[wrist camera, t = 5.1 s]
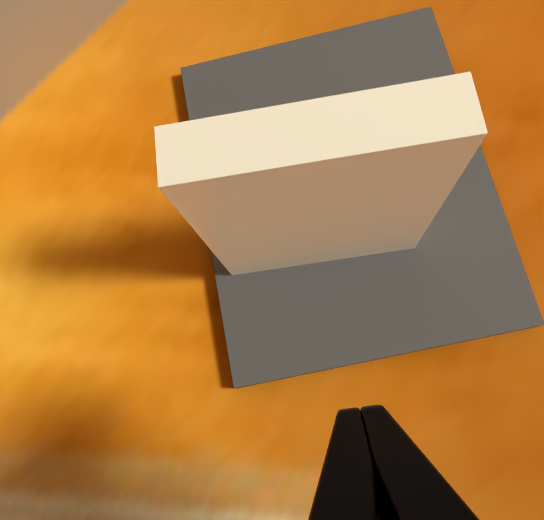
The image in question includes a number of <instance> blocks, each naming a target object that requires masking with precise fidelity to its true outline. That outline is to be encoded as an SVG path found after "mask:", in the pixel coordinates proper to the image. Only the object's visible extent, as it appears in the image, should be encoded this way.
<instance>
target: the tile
mask: <svg viewBox="0 0 544 520" xmlns="http://www.w3.org/2000/svg"><path fill="white" fill-rule="evenodd" d="M154 130H155V145H156V161H157V177H158V188H159V189H160V190H161V191H162V192H163V194H164V195H165V196H166V197H167V198H168V200H169V201H170V202H171V203H172V204H173V206H174V207H175V208H176V209H177V210H178V211H179V213H180V214H181V215H182V216H183V217H184V219H185V220H186V221H187V222H188V223H189V225H190V226H191V227H192V228H193V229H194V231H195V232H196V233H197V234H198V235H199V237H200V238H201V239H202V240H203V241H204V242H205V244H206V245H207V246H208V247H209V248H210V250H211V251H212V252H213V253H214V254H215V256H216V257H217V258H218V259H219V260H220V262H221V263H222V264H223V265H224V266H225V268H226V269H227V270H228V271H229V272H230V273H231V275H238V274H245V273H251V272H258V271H265V270H272V269H278V268H285V267H292V266H298V265H305V264H312V263H319V262H325V261H332V260H339V259H346V258H352V257H359V256H366V255H373V254H379V253H386V252H393V251H399V250H406V249H413V248H415V247H416V245H417V244H418V242H419V241H420V239H421V238H422V236H423V234H424V233H425V231H426V230H427V228H428V227H429V225H430V223H431V222H432V220H433V219H434V217H435V215H436V214H437V212H438V211H439V209H440V208H441V206H442V204H443V203H444V201H445V200H446V198H447V197H448V195H449V193H450V192H451V190H452V189H453V187H454V186H455V184H456V182H457V181H458V179H459V178H460V176H461V174H462V173H463V171H464V170H465V168H466V167H467V165H468V163H469V162H470V160H471V159H472V157H473V156H474V154H475V152H476V151H477V149H478V148H479V146H480V145H481V143H482V141H483V140H484V138H485V137H486V135H487V133H488V132H487V129H486V125H485V122H484V118H483V114H482V111H481V107H480V104H479V100H478V97H477V93H476V89H475V86H474V82H473V79H472V75H471V72H466V73H460V74H454V75H448V76H443V77H437V78H431V79H425V80H420V81H414V82H408V83H402V84H397V85H391V86H385V87H379V88H374V89H368V90H362V91H356V92H351V93H345V94H339V95H333V96H328V97H322V98H316V99H310V100H305V101H299V102H293V103H288V104H282V105H276V106H270V107H265V108H259V109H253V110H247V111H242V112H236V113H230V114H224V115H219V116H213V117H207V118H201V119H196V120H190V121H184V122H178V123H173V124H167V125H161V126H155V127H154Z"/></svg>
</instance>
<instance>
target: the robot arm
mask: <svg viewBox="0 0 544 520" xmlns="http://www.w3.org/2000/svg"><path fill="white" fill-rule="evenodd" d="M308 520H479V519H478V518H477V516H476V515H475V514H474V513H473V512H472V510H471V509H470V508H469V507H468V506H467V505H466V503H465V502H464V501H463V500H462V499H461V497H460V496H459V495H458V494H457V493H456V492H455V490H454V489H453V488H452V487H451V486H450V485H449V483H448V482H447V481H446V480H445V479H444V477H443V476H442V475H441V474H440V473H439V472H438V470H437V469H436V468H435V467H434V466H433V464H432V463H431V462H430V461H429V460H428V459H427V457H426V456H425V455H424V454H423V453H422V451H421V450H420V449H419V448H418V447H417V446H416V444H415V443H414V442H413V441H412V440H411V438H410V437H409V436H408V435H407V434H406V433H405V431H404V430H403V429H402V428H401V427H400V425H399V424H398V423H397V422H396V421H395V420H394V418H393V417H392V416H391V415H390V414H389V412H388V411H387V410H386V409H385V408H384V407H383V406H381V405H372V406H364V407H362V408H361V410H360V409H359V408H348V409H341V410H339V411H338V413H337V416H336V419H335V423H334V427H333V430H332V434H331V438H330V441H329V445H328V449H327V453H326V456H325V460H324V464H323V467H322V471H321V475H320V478H319V482H318V486H317V489H316V493H315V497H314V500H313V504H312V508H311V512H310V515H309V519H308Z"/></svg>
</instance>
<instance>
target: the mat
mask: <svg viewBox="0 0 544 520" xmlns="http://www.w3.org/2000/svg"><path fill="white" fill-rule="evenodd" d="M181 74H182V80H183V86H184V92H185V98H186V104H187V110H188V116H189V121H190V120H196V119H201V118H207V117H213V116H219V115H224V114H230V113H236V112H242V111H247V110H253V109H259V108H265V107H270V106H276V105H282V104H288V103H293V102H299V101H305V100H310V99H316V98H322V97H328V96H333V95H339V94H345V93H351V92H356V91H362V90H368V89H374V88H379V87H385V86H391V85H397V84H402V83H408V82H414V81H420V80H425V79H431V78H437V77H443V76H448V75H454V74H455V73H454V70H453V67H452V64H451V62H450V59H449V56H448V53H447V50H446V48H445V45H444V42H443V39H442V36H441V34H440V31H439V28H438V25H437V22H436V20H435V17H434V14H433V11H432V8H431V7H428V8H423V9H419V10H415V11H411V12H407V13H403V14H399V15H395V16H391V17H387V18H383V19H378V20H374V21H370V22H366V23H362V24H358V25H354V26H350V27H346V28H342V29H338V30H334V31H329V32H325V33H321V34H317V35H313V36H309V37H305V38H301V39H297V40H293V41H289V42H284V43H280V44H276V45H272V46H268V47H264V48H260V49H256V50H252V51H248V52H244V53H239V54H235V55H231V56H227V57H223V58H219V59H215V60H211V61H207V62H203V63H199V64H194V65H190V66H186V67H182V68H181ZM211 254H212V260H213V266H214V272H215V278H216V284H217V290H218V296H219V302H220V308H221V314H222V320H223V326H224V332H225V338H226V344H227V350H228V356H229V362H230V368H231V374H232V380H233V386H234V388H241V387H246V386H250V385H255V384H260V383H265V382H270V381H275V380H280V379H284V378H289V377H294V376H299V375H304V374H309V373H314V372H319V371H323V370H328V369H333V368H338V367H343V366H348V365H353V364H357V363H362V362H367V361H372V360H377V359H382V358H387V357H392V356H396V355H401V354H406V353H411V352H416V351H421V350H426V349H430V348H435V347H440V346H445V345H450V344H455V343H460V342H465V341H469V340H474V339H479V338H484V337H489V336H494V335H499V334H503V333H508V332H513V331H518V330H523V329H528V328H533V327H537V326H541V325H544V322H543V319H542V317H541V314H540V311H539V308H538V305H537V303H536V300H535V297H534V294H533V291H532V289H531V286H530V283H529V280H528V277H527V275H526V272H525V269H524V266H523V263H522V261H521V258H520V255H519V252H518V249H517V247H516V244H515V241H514V238H513V235H512V233H511V230H510V227H509V224H508V221H507V219H506V216H505V213H504V210H503V207H502V204H501V202H500V199H499V196H498V193H497V190H496V188H495V185H494V182H493V179H492V176H491V174H490V171H489V168H488V165H487V162H486V160H485V157H484V154H483V151H482V148H481V146H479V148H478V149H477V151H476V152H475V154H474V156H473V157H472V159H471V160H470V162H469V163H468V165H467V167H466V168H465V170H464V171H463V173H462V174H461V176H460V178H459V179H458V181H457V182H456V184H455V186H454V187H453V189H452V190H451V192H450V193H449V195H448V197H447V198H446V200H445V201H444V203H443V204H442V206H441V208H440V209H439V211H438V212H437V214H436V215H435V217H434V219H433V220H432V222H431V223H430V225H429V227H428V228H427V230H426V231H425V233H424V234H423V236H422V238H421V239H420V241H419V242H418V244H417V245H416V247H415V248H413V249H406V250H399V251H393V252H386V253H379V254H373V255H366V256H359V257H352V258H346V259H339V260H332V261H325V262H319V263H312V264H305V265H298V266H292V267H285V268H278V269H272V270H265V271H258V272H251V273H245V274H238V275H231V273H230V272H229V271H228V270H227V269H226V268H225V266H224V265H223V264H222V263H221V262H220V260H219V259H218V258H217V257H216V256H215V254H214V253H213V252H212V251H211Z"/></svg>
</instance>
